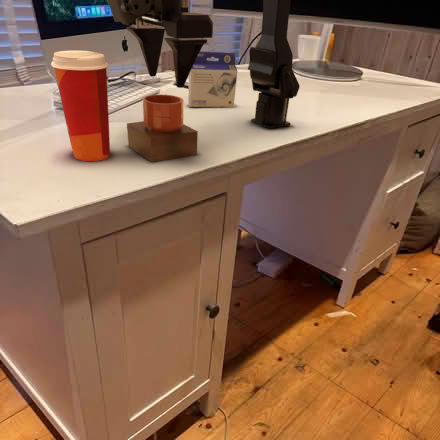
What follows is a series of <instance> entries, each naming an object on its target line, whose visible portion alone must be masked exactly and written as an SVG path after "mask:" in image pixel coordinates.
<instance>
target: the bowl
mask: <svg viewBox="0 0 440 440" xmlns="http://www.w3.org/2000/svg"><path fill="white" fill-rule="evenodd" d="M142 114H143V121H144V125H145V126H147V128H148V129H150V130H153V131H158V132H172V131H177V130H179V129H180V127H182V126H183V124H184V99H183V98H182V97H180V96H177V95H172V94H161V93H160V94H158V93H157V94H150V95H144V96H143V97H142Z"/></svg>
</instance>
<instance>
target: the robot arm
mask: <svg viewBox="0 0 440 440" xmlns="http://www.w3.org/2000/svg"><path fill="white" fill-rule="evenodd" d="M106 1H107V4H108V7H109V10H110V12H111V15H112V17H113V20H114V22H115V23H121V24H122V25H125V26H126V27H125V28H126V30H127V31H128V32H129V33H130V34H132V36H133V37H135V38H136V40H137V41H138V44H139V47H140V50H141V53H142V57H143V59H144V62H145V66H146V69H147V73H148V76H149V77H156V76H157V73H158V69H159V64H160V58H161V53H162V49H163V43H164V41H165V42H166V44H167V45H168V46H169V48H170V49H171V50H172V58H173V59H172V60H173V68H174V78H175V85H176V87H177V88H179V89H181V88H184V87H185V85H186V82H187V80H188V79H189V73H190V71H191V69H192V67H193V64H194V62H195V60H196V58H197V56H198V54H199V52H201V50H202V49H203V46H204V45H205V44H208V39H212V38H213V35H214V22H213V20H212V19H211V17H210V16H209V14H204V13H201V12H189V7H188V6H184V0H106ZM290 10H291V0H263V5H262V21H261V32H260V33H261V34H260V38H259V40H258V41H257V43H256V45H255V46H250V48H249V51H248V53H249V62H248V66H247V70H248V71H249V77H250V79H251V84H252V90H253V91H254V92H258V96H257V101H256V104H255V113H254V117H253V118H251V119H250V122H252V123H253V124H257V125H259V126H262V127H263V128H266V129H276V128H283V127H288V126H289V127H290V126H291V122H289V121H287V117H288V111H289V110H288V109H289V104H290V100H291V99H294V98H295V97H297V95H298V93H299V90H300V86H301V85H300V84H299V81H298V79H297V77H296V74H295V72H294V71H293V66H294V65H293V63H294V61H293V60H294V59H293V58H294V57H293V56H294V55H293V51H292V48H291V46H290V43H289V40H288V29H289V21H290V20H289V19H290ZM165 34H166V36H167V37H165Z"/></svg>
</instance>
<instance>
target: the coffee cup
mask: <svg viewBox="0 0 440 440" xmlns="http://www.w3.org/2000/svg"><path fill="white" fill-rule="evenodd" d="M50 65H51V67H52V68H53V69H54V74H55V79H56V83H57V89H58V93H59V96H60V97H59V98H60V102H61V106H62V110H63V115H64V119H65V124H66V129H67V132H68V134H67V135H68V138H69V143H70V147H71V151H72V155H73V157H74V158H75V159H77V160H79V161H84V162H97V161H103V160H105V159H107V158H109V157H110V156H111V155H110V154H111V147H110V146H111V144H110V143H111V141H110V140H111V139H110V121H109V120H110V118H109V117H110V116H109V95H108V75H107V73H108V72H107V68H108V67H109V63H108V62H107V61H106V57H105V54H103V53H100V52H96V51H91V50H74V49H73V50H60V51H55V52H53V57H52V61H51V63H50Z"/></svg>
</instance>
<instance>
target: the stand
mask: <svg viewBox="0 0 440 440" xmlns="http://www.w3.org/2000/svg"><path fill="white" fill-rule="evenodd" d="M126 131H127V143H128V145H127V146H128V147H129V148H130V149H132V150H133V151H135V152H136V153H137V154H139V155H141V156H142V157H144V158H145V159H146V160H148V161H149V162H151V163H155V162H162V161H167V160H172V159H178V158H183V157H189V156H195V155H198V136H199V135H198V133H199V131H198V130H196V129H194V128H192V127H191V126H188V125H186V124H185V123H183V126H182V127H180V129H179V130H177V131H172V132H158V131H153V130H150V129H148V128H147V126H145V125H144V120H141V121H134V122H127V123H126Z"/></svg>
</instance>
